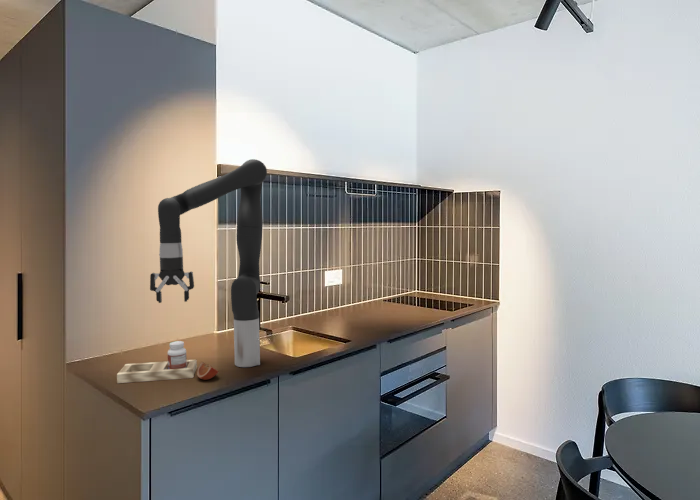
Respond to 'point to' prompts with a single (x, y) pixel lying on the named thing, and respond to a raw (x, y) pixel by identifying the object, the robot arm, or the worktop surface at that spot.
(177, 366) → the pill bottle
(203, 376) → the fruit slice
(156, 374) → the rail
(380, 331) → the worktop surface
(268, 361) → the worktop surface
